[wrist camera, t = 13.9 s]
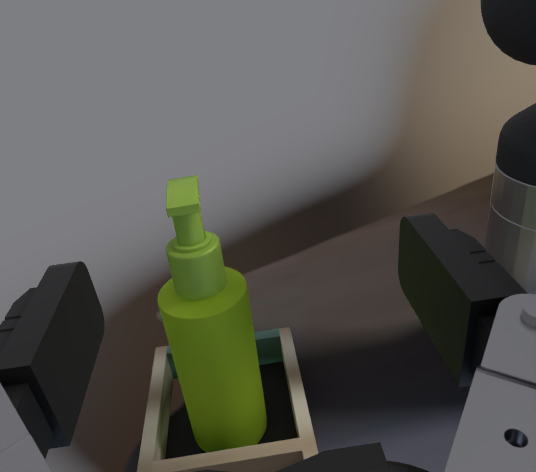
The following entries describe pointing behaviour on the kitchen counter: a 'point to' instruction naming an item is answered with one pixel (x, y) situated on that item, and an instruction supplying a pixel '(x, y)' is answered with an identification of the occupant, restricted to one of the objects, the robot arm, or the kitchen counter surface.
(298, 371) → the caddy
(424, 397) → the kitchen counter surface
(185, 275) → the soap dispenser
